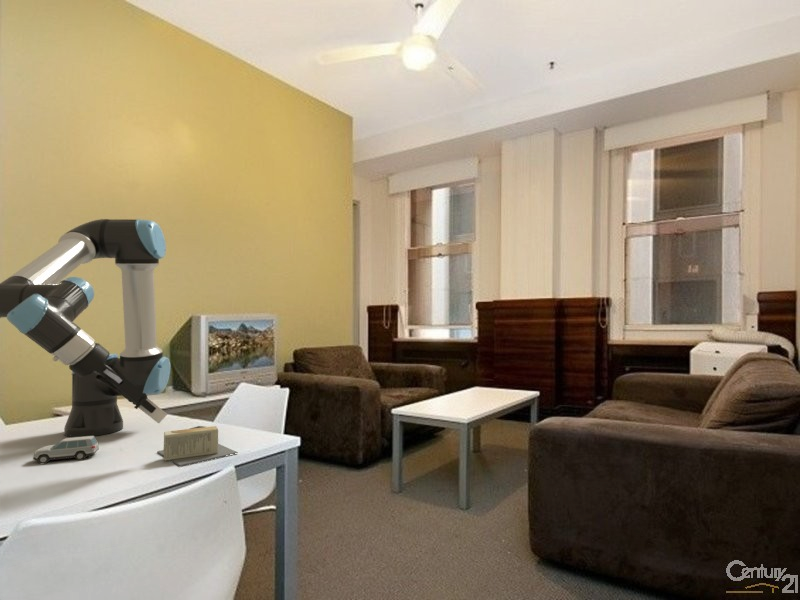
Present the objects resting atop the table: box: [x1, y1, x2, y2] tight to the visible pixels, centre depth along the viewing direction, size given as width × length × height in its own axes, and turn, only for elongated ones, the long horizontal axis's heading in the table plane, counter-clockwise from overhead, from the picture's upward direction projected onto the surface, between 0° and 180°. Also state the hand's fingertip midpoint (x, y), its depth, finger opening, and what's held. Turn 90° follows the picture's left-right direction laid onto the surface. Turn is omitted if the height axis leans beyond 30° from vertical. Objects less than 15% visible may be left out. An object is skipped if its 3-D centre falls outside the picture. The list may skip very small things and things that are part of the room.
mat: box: [157, 443, 239, 468], centre depth 119 cm, size 16×14×1 cm
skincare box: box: [163, 425, 219, 461], centre depth 116 cm, size 6×4×12 cm
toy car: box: [32, 436, 100, 464], centre depth 115 cm, size 6×13×5 cm, turn 111°
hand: (162, 418), depth 114 cm, fingers closed
